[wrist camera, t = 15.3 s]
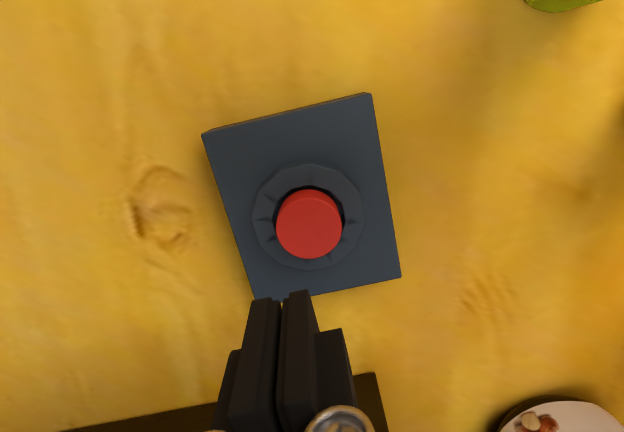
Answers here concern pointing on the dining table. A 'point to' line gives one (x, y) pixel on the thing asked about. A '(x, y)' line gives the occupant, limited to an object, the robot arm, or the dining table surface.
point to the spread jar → (559, 416)
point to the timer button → (308, 224)
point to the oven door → (197, 420)
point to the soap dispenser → (558, 4)
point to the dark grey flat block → (299, 176)
